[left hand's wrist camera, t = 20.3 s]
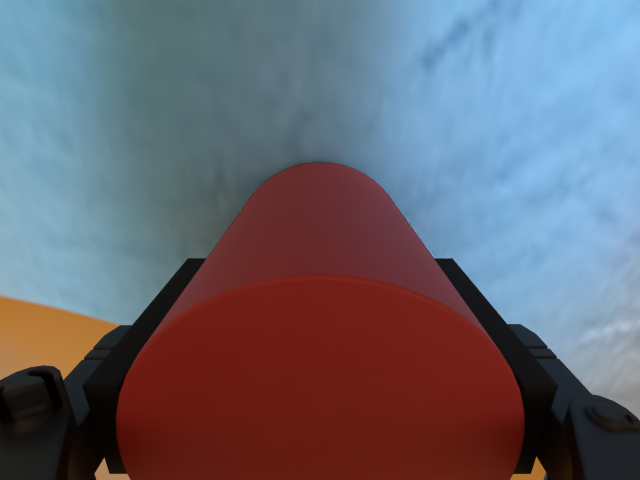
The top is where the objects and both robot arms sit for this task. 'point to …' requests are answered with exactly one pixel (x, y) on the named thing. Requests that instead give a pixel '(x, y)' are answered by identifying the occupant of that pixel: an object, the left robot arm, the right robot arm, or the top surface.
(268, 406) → the can
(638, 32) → the top surface
